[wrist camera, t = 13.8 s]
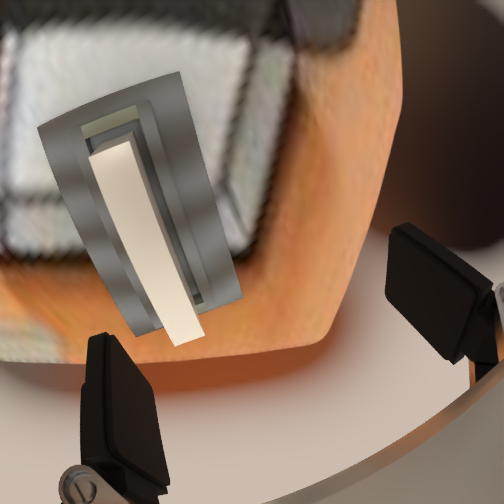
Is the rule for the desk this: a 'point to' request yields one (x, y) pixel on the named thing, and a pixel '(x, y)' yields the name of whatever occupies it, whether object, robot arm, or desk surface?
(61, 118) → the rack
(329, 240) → the desk surface
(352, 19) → the desk surface
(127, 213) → the clay strip
